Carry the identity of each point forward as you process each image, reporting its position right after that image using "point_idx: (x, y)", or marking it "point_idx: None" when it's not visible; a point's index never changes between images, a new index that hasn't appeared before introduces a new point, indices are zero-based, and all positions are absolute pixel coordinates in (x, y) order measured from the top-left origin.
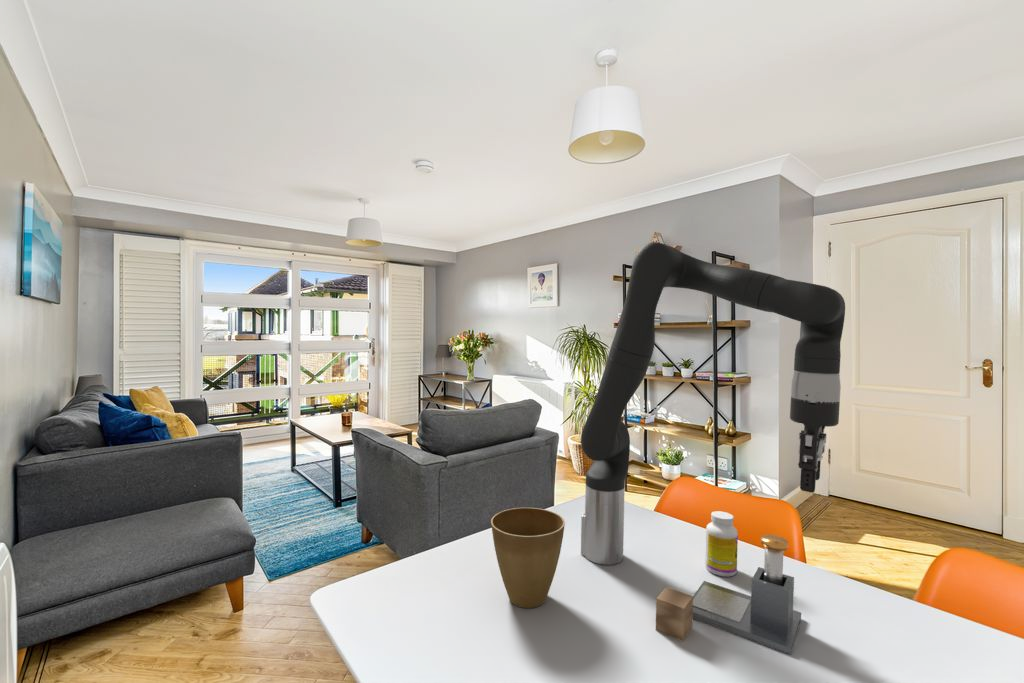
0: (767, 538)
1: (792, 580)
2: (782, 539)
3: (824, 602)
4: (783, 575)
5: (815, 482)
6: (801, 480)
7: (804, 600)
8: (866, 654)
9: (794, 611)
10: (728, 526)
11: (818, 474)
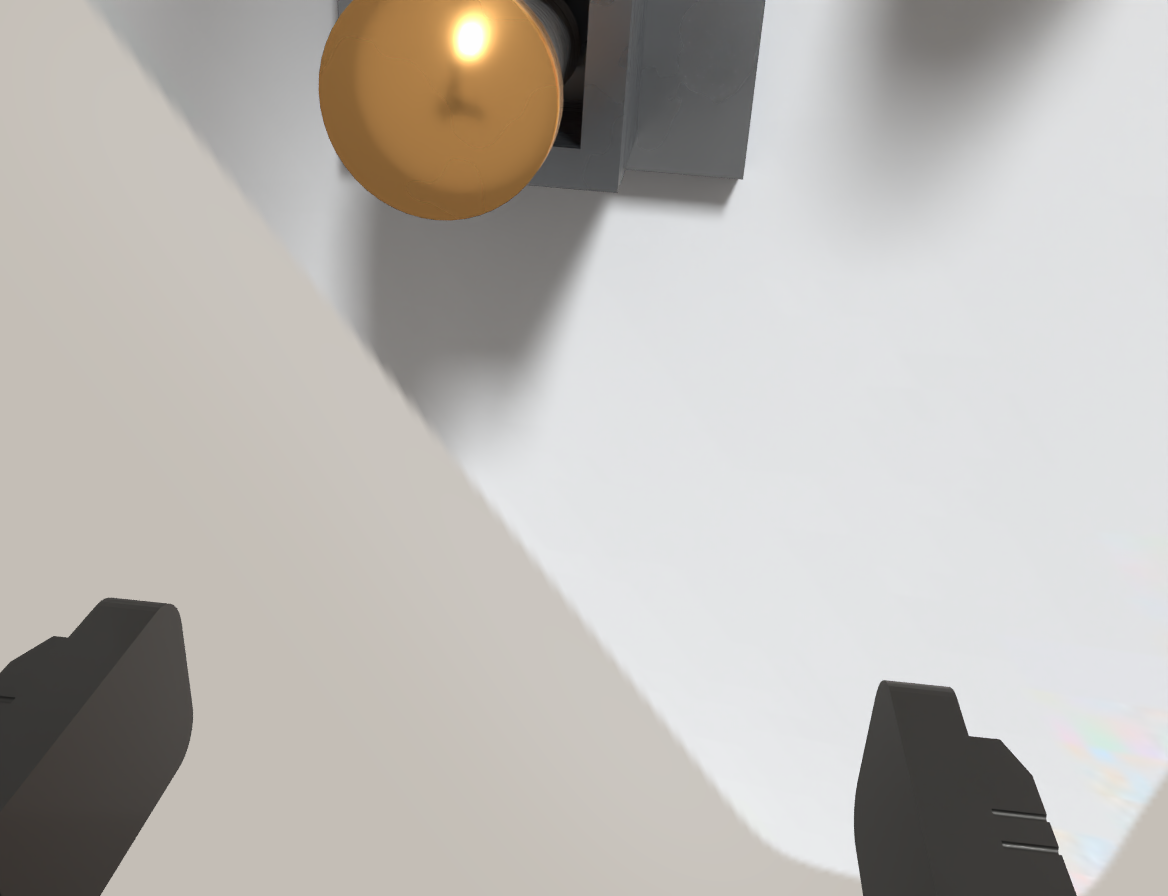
0: (425, 34)
1: (556, 185)
2: (491, 169)
3: (1015, 285)
4: (601, 122)
5: (124, 846)
6: (30, 691)
7: (983, 181)
8: (586, 438)
9: (735, 143)
10: None
11: (862, 881)
